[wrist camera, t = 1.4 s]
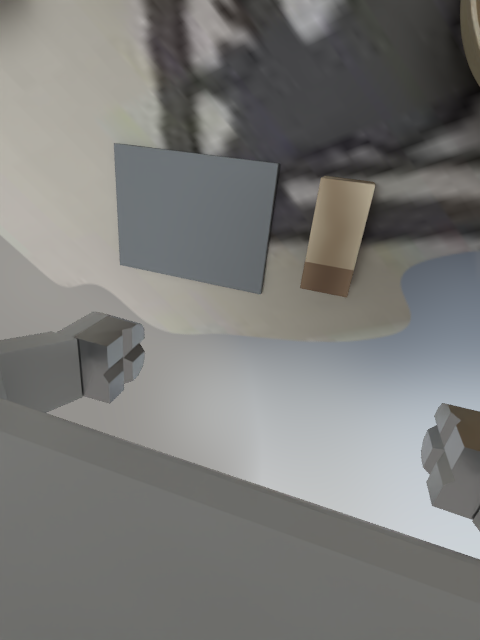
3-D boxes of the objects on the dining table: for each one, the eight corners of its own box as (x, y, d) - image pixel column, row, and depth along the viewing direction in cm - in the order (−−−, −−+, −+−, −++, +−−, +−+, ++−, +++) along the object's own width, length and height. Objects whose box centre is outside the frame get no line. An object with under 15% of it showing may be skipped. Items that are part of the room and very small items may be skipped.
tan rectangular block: (374, 181, 29) (375, 184, 26) (348, 284, 33) (346, 297, 30) (324, 175, 30) (320, 177, 27) (305, 276, 34) (300, 288, 31)
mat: (279, 163, 30) (278, 163, 30) (261, 292, 36) (260, 294, 35) (117, 143, 34) (113, 143, 34) (123, 263, 39) (120, 264, 39)
